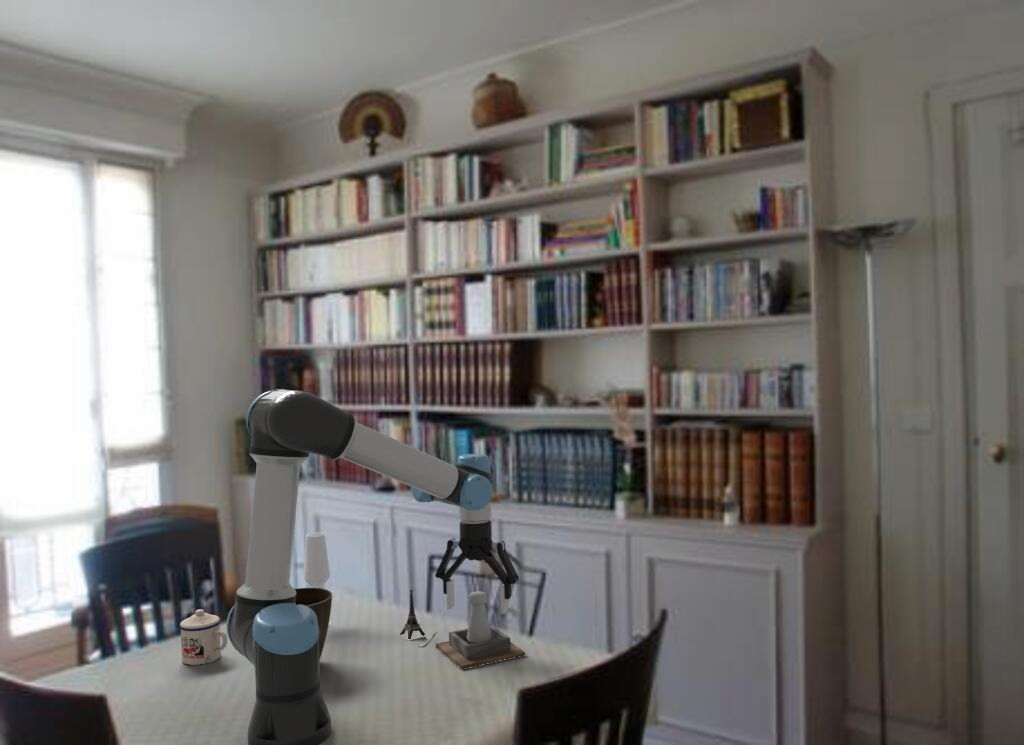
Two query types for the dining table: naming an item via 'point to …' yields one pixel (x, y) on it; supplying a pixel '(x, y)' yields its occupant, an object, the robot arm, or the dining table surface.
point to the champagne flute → (316, 561)
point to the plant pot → (317, 608)
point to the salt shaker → (478, 619)
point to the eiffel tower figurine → (412, 620)
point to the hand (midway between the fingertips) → (477, 610)
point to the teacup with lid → (201, 638)
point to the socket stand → (478, 649)
